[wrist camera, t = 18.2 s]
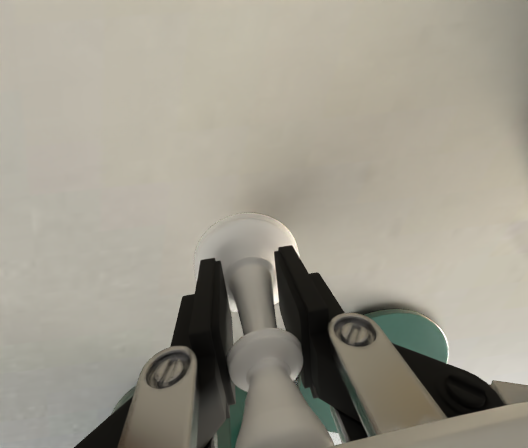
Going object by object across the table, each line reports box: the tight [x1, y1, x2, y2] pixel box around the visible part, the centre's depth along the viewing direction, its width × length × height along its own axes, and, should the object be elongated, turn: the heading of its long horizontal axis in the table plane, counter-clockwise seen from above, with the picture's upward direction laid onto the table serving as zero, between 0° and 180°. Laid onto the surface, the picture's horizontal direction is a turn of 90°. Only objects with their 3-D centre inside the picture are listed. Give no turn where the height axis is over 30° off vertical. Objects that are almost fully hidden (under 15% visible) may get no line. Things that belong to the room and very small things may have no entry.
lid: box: [298, 309, 448, 433], centre depth 22 cm, size 15×15×6 cm
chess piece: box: [194, 213, 334, 448], centre depth 8 cm, size 5×5×10 cm
